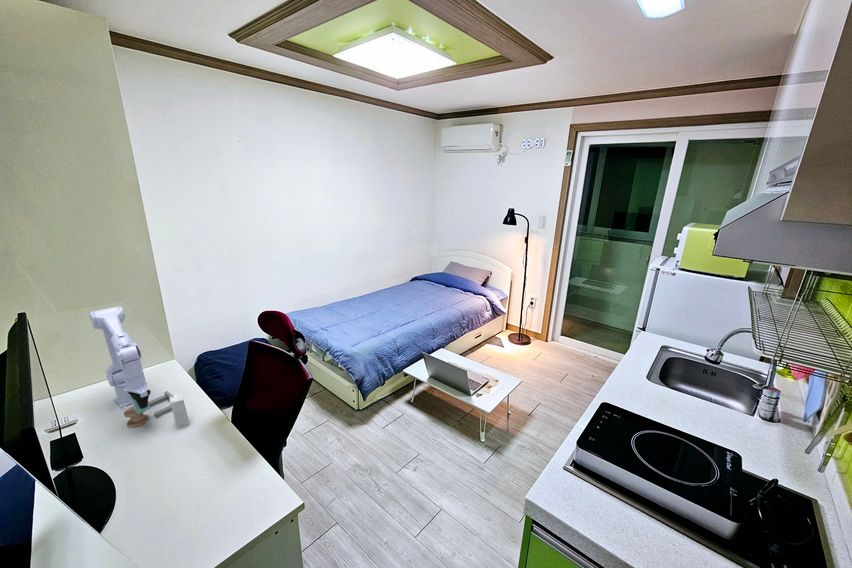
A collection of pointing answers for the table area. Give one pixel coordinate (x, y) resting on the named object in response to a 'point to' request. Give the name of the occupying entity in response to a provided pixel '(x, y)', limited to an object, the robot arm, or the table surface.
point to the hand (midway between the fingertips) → (141, 405)
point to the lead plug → (136, 407)
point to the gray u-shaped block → (159, 400)
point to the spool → (135, 418)
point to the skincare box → (179, 410)
